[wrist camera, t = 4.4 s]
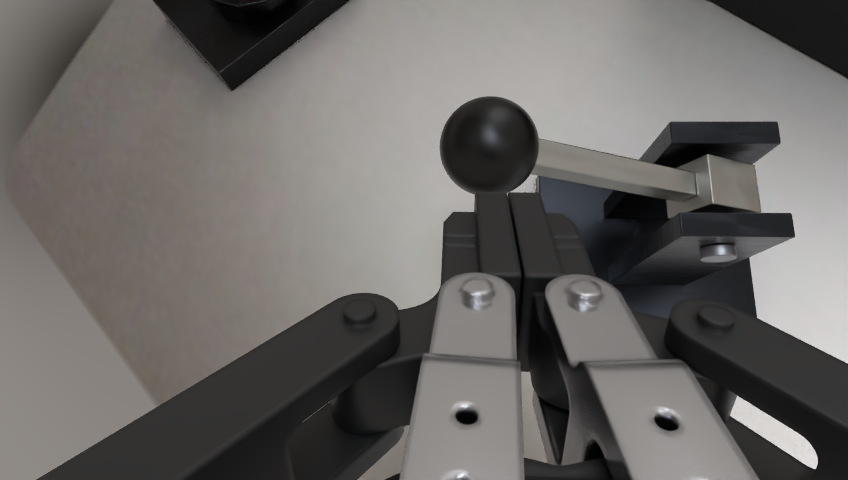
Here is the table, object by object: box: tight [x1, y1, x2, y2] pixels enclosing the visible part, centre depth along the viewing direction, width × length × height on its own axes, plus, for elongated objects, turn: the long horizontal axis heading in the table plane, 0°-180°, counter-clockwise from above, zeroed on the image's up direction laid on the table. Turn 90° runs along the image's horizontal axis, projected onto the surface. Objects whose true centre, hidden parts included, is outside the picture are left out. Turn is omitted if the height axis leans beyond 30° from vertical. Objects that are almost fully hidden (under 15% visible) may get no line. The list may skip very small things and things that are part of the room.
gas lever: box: [440, 97, 761, 219], centre depth 22 cm, size 14×4×4 cm, turn 88°
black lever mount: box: [536, 122, 795, 319], centre depth 28 cm, size 12×9×12 cm
